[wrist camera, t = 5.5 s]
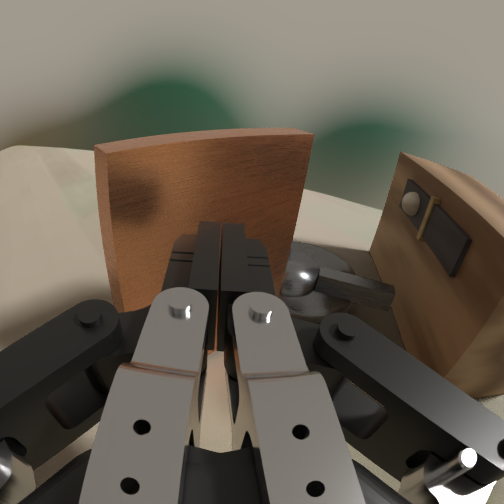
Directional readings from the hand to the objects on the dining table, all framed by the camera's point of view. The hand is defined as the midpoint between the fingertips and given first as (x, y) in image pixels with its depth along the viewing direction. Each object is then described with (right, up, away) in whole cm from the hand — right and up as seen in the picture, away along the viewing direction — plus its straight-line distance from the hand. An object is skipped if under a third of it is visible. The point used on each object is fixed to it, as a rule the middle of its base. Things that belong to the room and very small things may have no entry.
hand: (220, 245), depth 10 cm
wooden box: (+18, -6, +14) cm, 24 cm away
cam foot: (+1, -5, +11) cm, 13 cm away
